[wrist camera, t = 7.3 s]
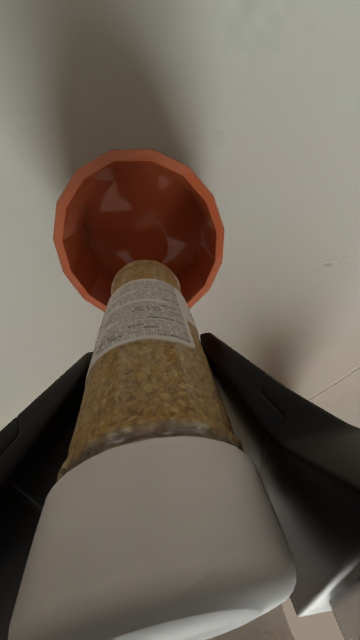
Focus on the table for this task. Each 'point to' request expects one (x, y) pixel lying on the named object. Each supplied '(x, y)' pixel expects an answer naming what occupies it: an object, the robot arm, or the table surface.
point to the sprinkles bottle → (152, 493)
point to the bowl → (137, 223)
